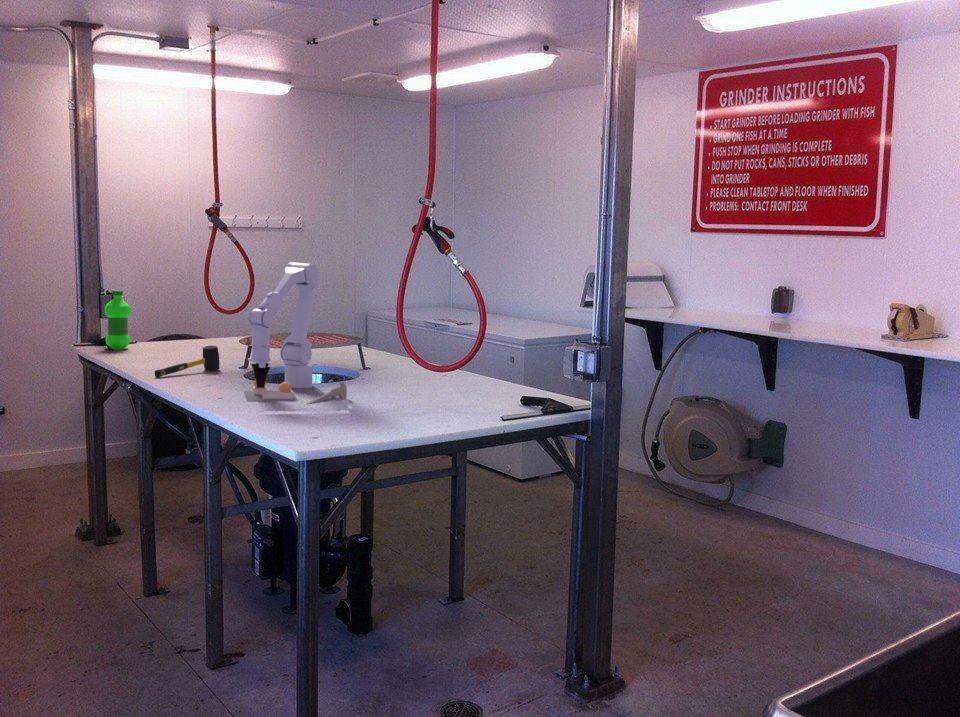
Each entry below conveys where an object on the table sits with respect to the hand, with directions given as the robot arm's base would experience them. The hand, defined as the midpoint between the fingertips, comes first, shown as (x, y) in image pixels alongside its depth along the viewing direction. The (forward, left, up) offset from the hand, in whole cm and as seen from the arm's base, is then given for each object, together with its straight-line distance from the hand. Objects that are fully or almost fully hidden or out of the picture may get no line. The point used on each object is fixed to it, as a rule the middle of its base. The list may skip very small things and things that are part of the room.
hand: (260, 386), depth 292 cm
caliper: (-20, +12, -4) cm, 24 cm away
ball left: (-7, +8, +1) cm, 11 cm away
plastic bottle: (+51, -111, -4) cm, 122 cm away
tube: (0, 0, -2) cm, 2 cm away
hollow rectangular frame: (-5, +8, -2) cm, 10 cm away
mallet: (+22, -46, -4) cm, 51 cm away
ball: (0, 0, +1) cm, 1 cm away
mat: (-3, +5, -3) cm, 7 cm away
